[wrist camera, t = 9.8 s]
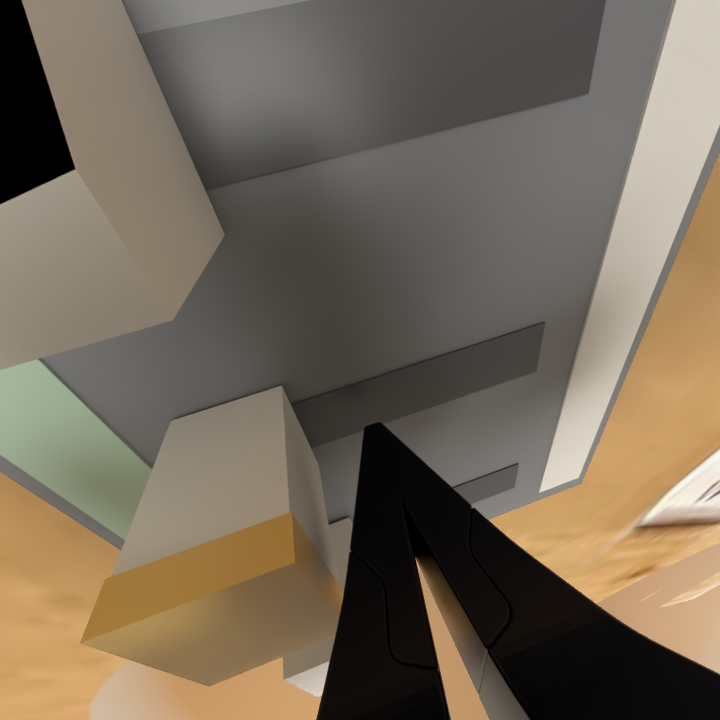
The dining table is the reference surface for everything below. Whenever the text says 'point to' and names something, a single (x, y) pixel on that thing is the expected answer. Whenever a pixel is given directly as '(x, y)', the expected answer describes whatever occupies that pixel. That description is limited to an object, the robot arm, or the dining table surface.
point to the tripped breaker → (224, 549)
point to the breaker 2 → (313, 660)
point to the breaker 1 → (89, 183)
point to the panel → (399, 239)
